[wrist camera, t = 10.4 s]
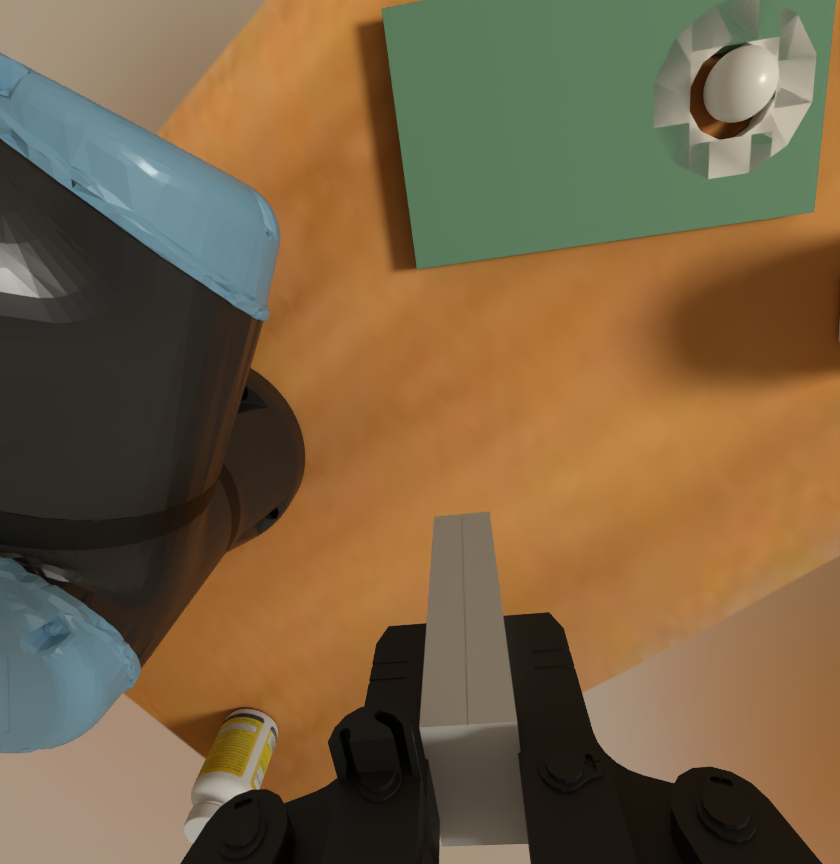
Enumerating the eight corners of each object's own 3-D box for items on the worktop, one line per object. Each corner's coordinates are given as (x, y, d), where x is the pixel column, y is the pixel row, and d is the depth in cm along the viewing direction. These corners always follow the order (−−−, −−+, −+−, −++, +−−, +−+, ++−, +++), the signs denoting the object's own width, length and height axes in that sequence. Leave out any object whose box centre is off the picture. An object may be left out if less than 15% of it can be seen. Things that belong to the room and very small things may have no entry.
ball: (742, 112, 27) (795, 106, 28) (741, 33, 27) (796, 29, 27) (689, 134, 31) (738, 128, 32) (687, 65, 30) (737, 61, 31)
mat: (418, 268, 35) (416, 269, 34) (385, 20, 31) (381, 8, 29) (797, 213, 33) (813, 212, 31) (823, -66, 28) (844, -84, 27)
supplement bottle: (213, 720, 51) (160, 826, 42) (253, 697, 49) (207, 801, 40) (250, 755, 52) (207, 865, 43) (291, 733, 51) (254, 842, 42)
